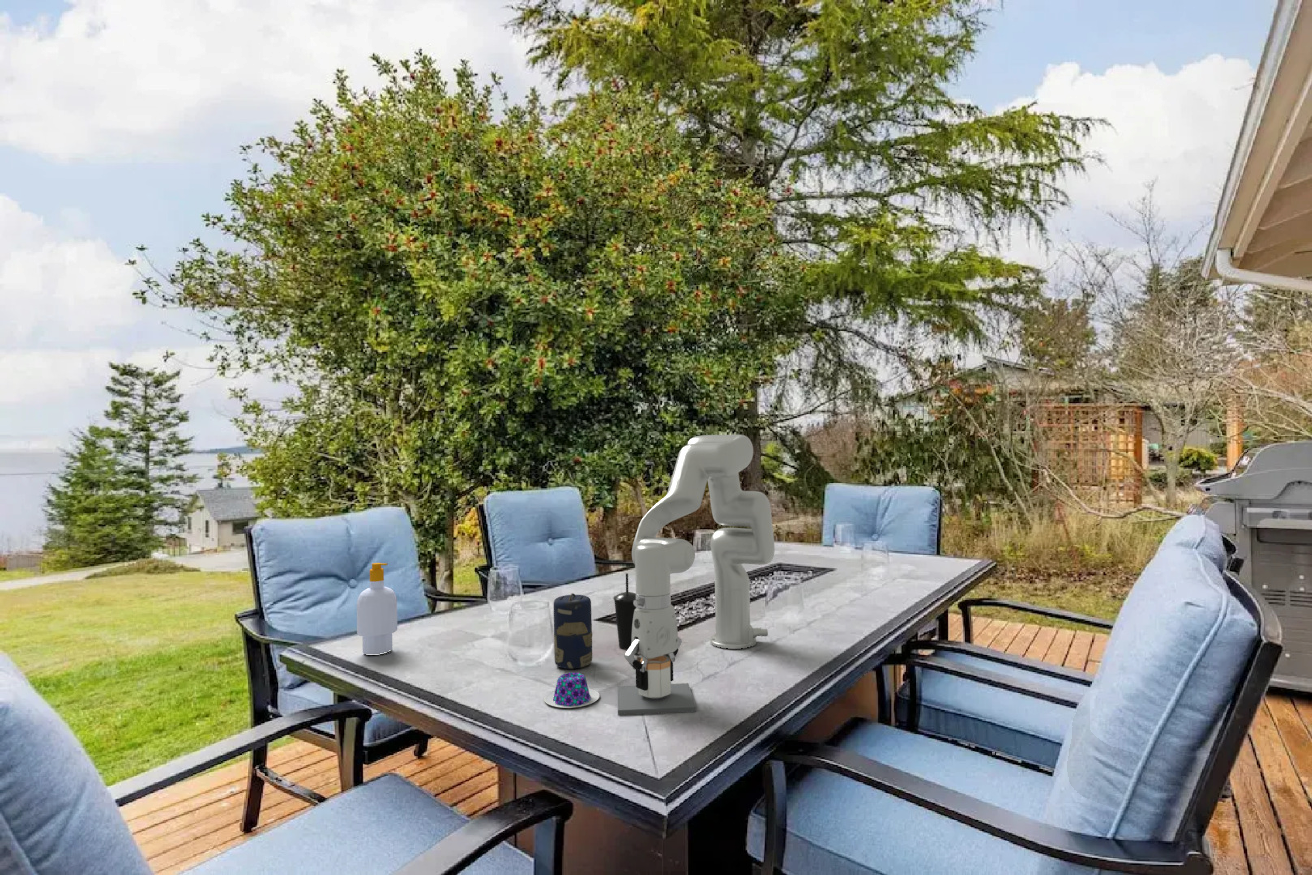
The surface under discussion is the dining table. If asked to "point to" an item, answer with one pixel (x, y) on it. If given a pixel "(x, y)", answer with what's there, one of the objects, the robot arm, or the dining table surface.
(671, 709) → the base
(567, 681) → the pudding
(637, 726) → the dining table surface
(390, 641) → the soap bottle
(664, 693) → the vent collar
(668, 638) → the robot arm
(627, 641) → the drinking cup
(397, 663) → the dining table surface
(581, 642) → the canister
